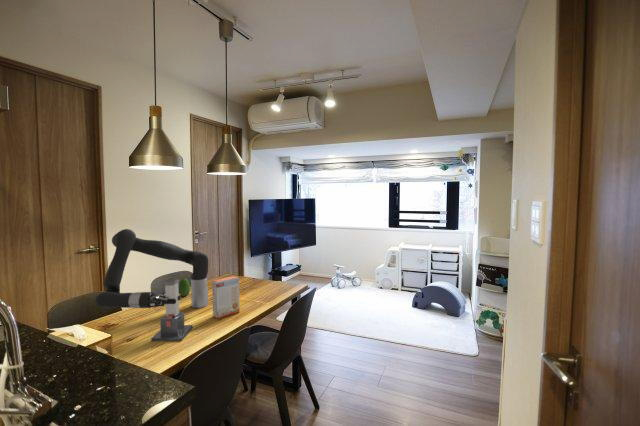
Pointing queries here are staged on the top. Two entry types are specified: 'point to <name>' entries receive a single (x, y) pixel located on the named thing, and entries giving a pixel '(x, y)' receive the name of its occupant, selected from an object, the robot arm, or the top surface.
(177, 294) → the column
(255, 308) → the top surface
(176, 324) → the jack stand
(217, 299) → the cracker box
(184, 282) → the avocado
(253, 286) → the top surface
